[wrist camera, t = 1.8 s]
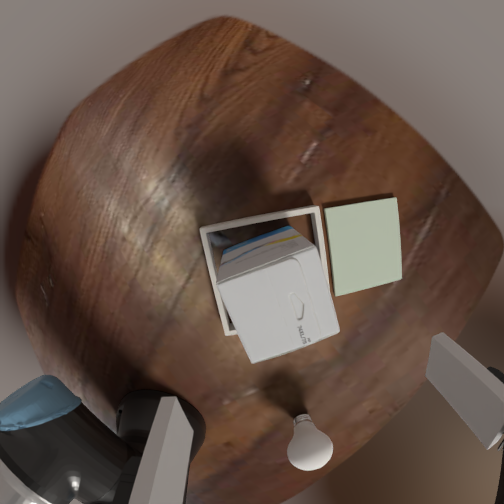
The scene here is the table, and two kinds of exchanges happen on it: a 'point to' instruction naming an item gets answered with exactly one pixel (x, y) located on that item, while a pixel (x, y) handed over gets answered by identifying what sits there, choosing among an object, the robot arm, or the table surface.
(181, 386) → the table surface
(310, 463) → the light bulb
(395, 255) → the mat
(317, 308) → the ink box
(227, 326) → the tray rim
